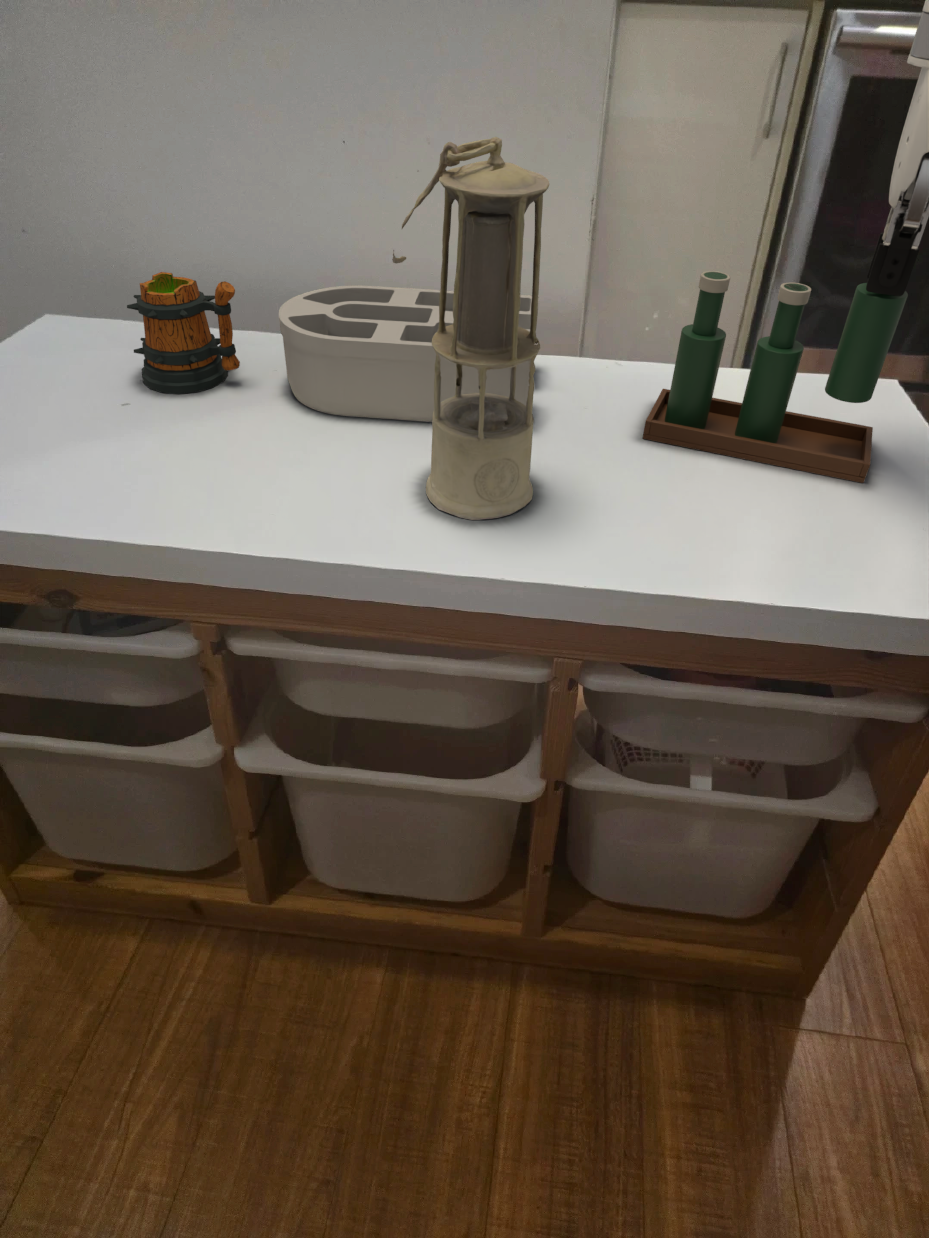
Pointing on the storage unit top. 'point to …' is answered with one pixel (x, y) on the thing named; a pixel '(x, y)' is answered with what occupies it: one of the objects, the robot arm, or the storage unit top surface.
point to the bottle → (864, 344)
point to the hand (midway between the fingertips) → (884, 285)
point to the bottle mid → (774, 369)
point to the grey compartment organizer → (379, 352)
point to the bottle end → (699, 356)
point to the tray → (798, 444)
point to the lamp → (484, 334)
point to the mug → (184, 335)
